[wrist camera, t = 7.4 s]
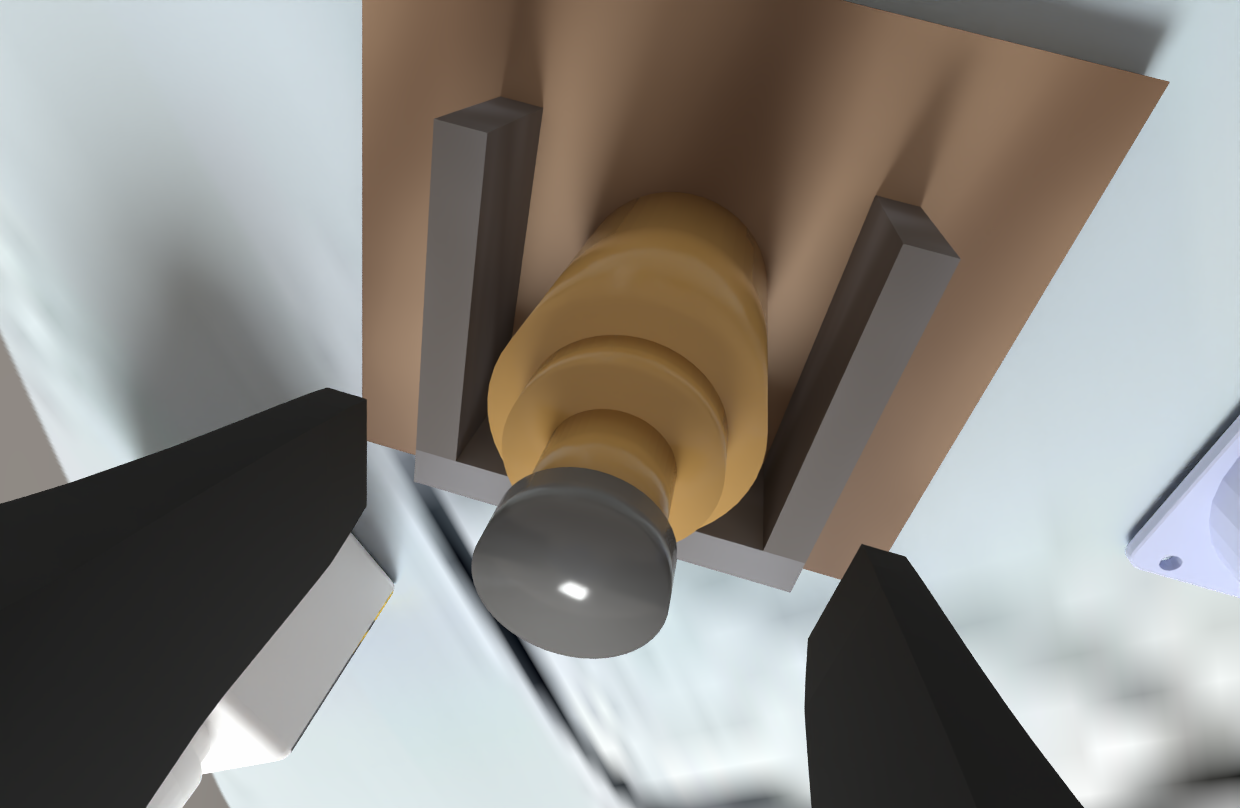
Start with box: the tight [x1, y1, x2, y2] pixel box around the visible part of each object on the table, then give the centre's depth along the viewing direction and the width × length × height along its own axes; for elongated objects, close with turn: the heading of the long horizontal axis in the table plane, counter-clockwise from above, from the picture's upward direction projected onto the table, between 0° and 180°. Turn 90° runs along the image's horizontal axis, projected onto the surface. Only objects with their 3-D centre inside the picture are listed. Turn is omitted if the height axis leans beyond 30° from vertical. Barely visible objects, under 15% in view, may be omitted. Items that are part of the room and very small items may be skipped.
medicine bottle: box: [146, 533, 394, 808], centre depth 20 cm, size 7×7×12 cm
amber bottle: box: [472, 192, 768, 659], centre depth 12 cm, size 5×5×10 cm
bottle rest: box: [362, 0, 1169, 592], centre depth 16 cm, size 16×14×4 cm
